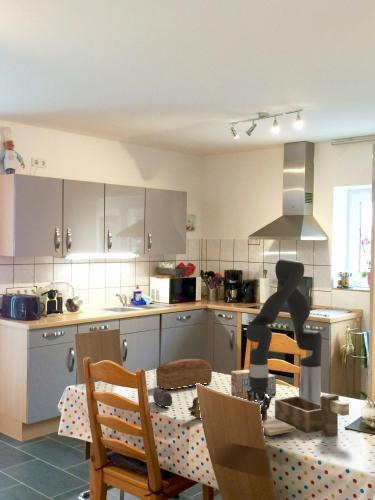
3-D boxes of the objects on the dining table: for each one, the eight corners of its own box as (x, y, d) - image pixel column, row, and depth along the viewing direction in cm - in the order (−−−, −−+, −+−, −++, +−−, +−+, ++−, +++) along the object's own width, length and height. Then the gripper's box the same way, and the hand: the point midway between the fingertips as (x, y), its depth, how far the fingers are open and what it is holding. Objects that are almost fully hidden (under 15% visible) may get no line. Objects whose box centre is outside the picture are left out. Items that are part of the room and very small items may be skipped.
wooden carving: (209, 412, 242) (209, 389, 242) (218, 414, 239) (218, 390, 239) (185, 421, 229) (185, 396, 229) (194, 423, 226) (194, 398, 226)
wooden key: (320, 407, 214) (320, 397, 214) (326, 406, 216) (326, 396, 216) (342, 415, 204) (342, 404, 204) (348, 414, 205) (348, 403, 205)
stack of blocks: (269, 392, 276) (269, 367, 276) (276, 395, 270) (276, 369, 270) (230, 396, 268) (230, 370, 268) (236, 399, 263) (236, 373, 263)
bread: (152, 387, 285) (152, 361, 285) (201, 379, 302) (201, 355, 302) (164, 392, 275) (164, 365, 275) (215, 384, 292) (215, 358, 292)
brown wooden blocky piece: (274, 419, 232) (274, 383, 232) (297, 415, 237) (297, 379, 237) (320, 438, 208) (320, 398, 207) (344, 433, 213) (344, 394, 213)
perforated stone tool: (149, 401, 258) (149, 386, 258) (160, 400, 261) (160, 385, 261) (162, 410, 245) (162, 394, 245) (173, 408, 247) (173, 393, 247)
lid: (239, 421, 223) (239, 405, 223) (263, 416, 229) (263, 401, 229) (270, 435, 205) (270, 418, 205) (295, 430, 211) (295, 414, 211)
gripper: (277, 377, 217) (277, 421, 217) (255, 370, 229) (255, 412, 229) (261, 379, 213) (261, 424, 213) (240, 372, 226) (240, 414, 226)
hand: (258, 417), depth 221 cm, fingers closed on lid, 3 cm apart
